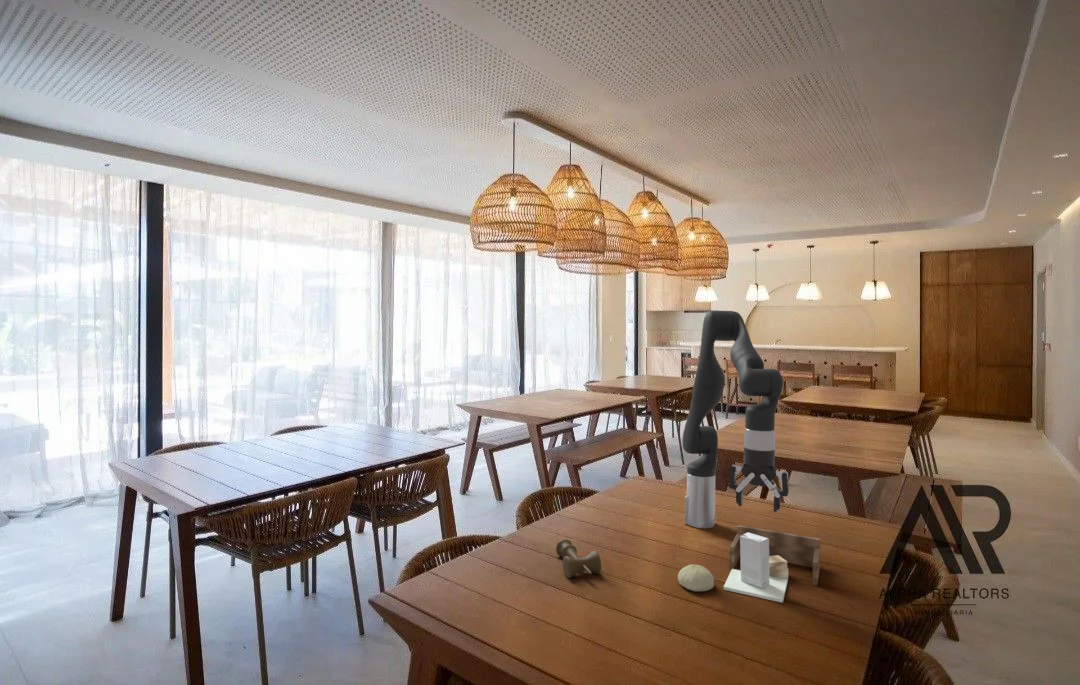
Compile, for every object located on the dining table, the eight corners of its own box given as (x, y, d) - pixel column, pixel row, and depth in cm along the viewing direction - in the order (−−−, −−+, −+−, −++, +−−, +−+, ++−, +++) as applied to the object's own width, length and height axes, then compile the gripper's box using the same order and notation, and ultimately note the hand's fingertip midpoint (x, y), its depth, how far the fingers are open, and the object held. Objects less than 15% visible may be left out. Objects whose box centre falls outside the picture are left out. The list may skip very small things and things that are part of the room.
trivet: (723, 589, 145) (723, 586, 145) (731, 571, 155) (732, 568, 155) (782, 602, 138) (782, 599, 138) (787, 582, 149) (787, 579, 149)
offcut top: (766, 572, 150) (767, 563, 150) (758, 565, 154) (758, 556, 154) (787, 570, 152) (787, 561, 152) (778, 564, 156) (778, 555, 155)
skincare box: (770, 584, 146) (770, 537, 146) (761, 589, 143) (762, 542, 143) (747, 576, 151) (748, 531, 150) (738, 581, 148) (739, 535, 148)
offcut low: (755, 577, 153) (755, 568, 153) (756, 571, 157) (756, 562, 156) (787, 583, 150) (788, 574, 149) (788, 577, 153) (788, 568, 153)
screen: (729, 568, 158) (730, 539, 157) (737, 551, 169) (738, 525, 169) (817, 585, 147) (818, 555, 147) (819, 567, 159) (820, 538, 158)
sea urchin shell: (715, 572, 151) (714, 559, 145) (713, 602, 146) (713, 590, 140) (679, 567, 154) (678, 554, 148) (677, 596, 149) (675, 585, 143)
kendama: (578, 554, 168) (608, 582, 149) (548, 559, 165) (574, 588, 146) (578, 534, 168) (607, 559, 149) (547, 539, 165) (573, 565, 146)
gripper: (727, 445, 146) (726, 507, 147) (787, 452, 139) (786, 517, 140) (733, 440, 153) (731, 499, 153) (790, 446, 146) (789, 508, 147)
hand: (757, 508), depth 147 cm, fingers open, 8 cm apart
